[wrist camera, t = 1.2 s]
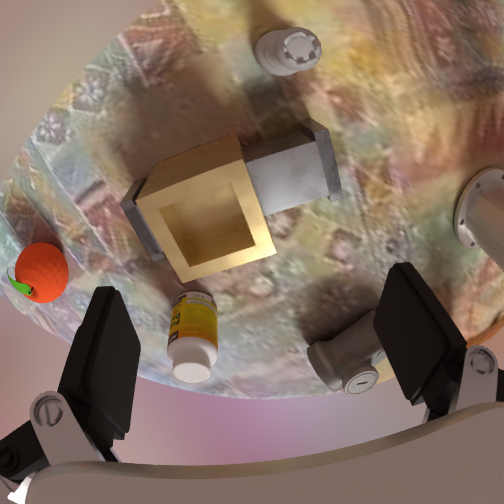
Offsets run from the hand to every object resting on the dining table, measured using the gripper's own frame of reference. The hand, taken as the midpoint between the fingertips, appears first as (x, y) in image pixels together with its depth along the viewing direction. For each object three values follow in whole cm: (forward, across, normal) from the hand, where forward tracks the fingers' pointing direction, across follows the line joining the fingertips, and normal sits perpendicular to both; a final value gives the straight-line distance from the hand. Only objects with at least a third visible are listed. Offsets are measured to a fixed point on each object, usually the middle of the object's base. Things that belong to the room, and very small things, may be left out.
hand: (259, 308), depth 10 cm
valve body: (+21, 0, +3) cm, 21 cm away
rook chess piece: (+21, -4, -9) cm, 23 cm away
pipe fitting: (+21, -16, +28) cm, 38 cm away
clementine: (+21, +23, +10) cm, 33 cm away
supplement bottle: (+21, +6, +19) cm, 29 cm away
